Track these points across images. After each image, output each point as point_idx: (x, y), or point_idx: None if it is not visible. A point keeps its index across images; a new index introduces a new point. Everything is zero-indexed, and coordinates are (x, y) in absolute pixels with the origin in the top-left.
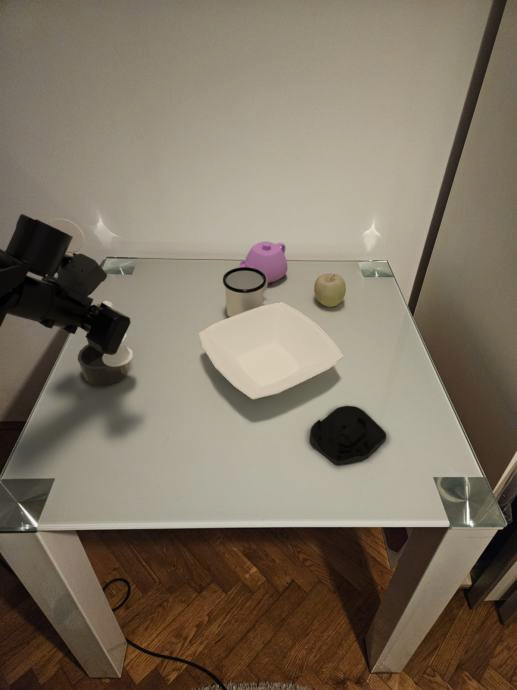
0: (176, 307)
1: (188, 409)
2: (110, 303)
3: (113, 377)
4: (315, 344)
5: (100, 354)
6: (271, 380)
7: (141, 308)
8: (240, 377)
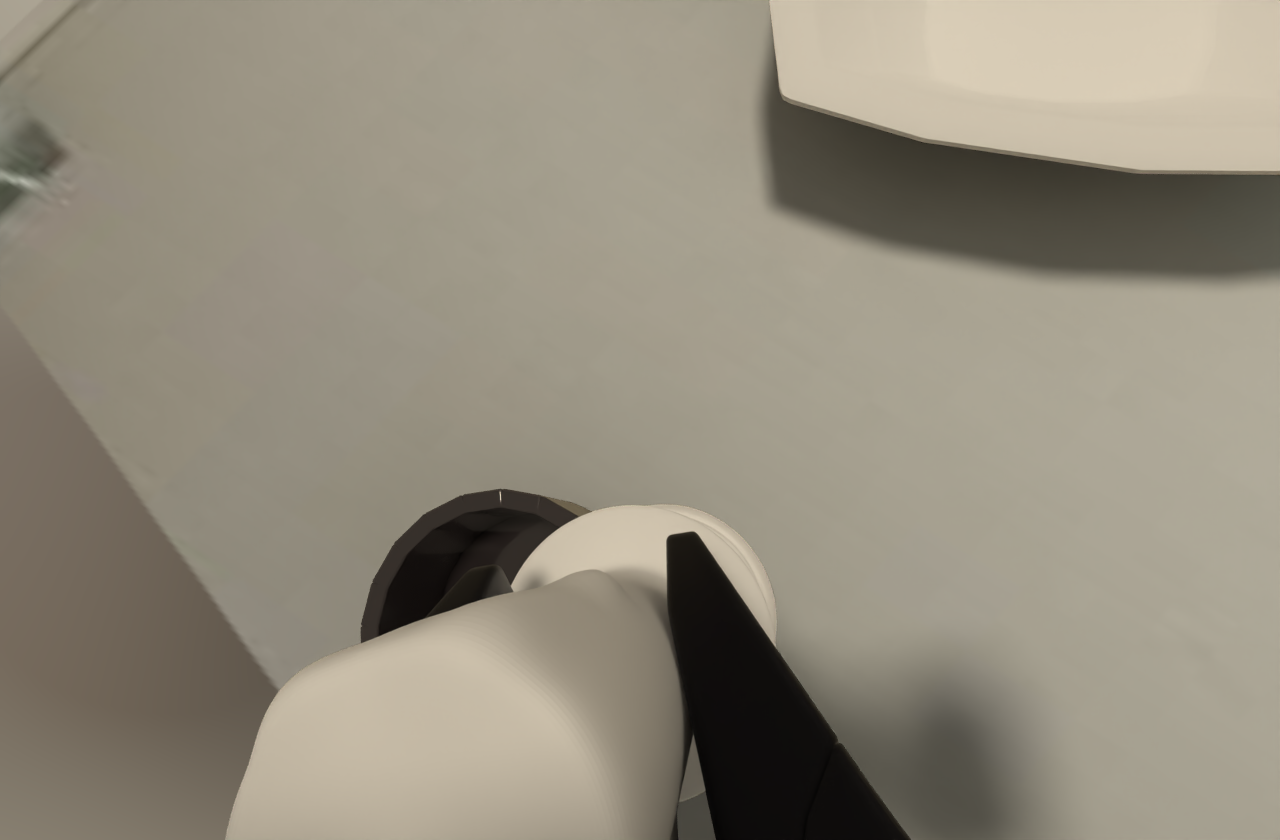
0: (406, 117)
1: (1075, 453)
2: (483, 687)
3: None
4: None
5: (437, 587)
6: (1184, 38)
7: (291, 243)
8: (1204, 120)
